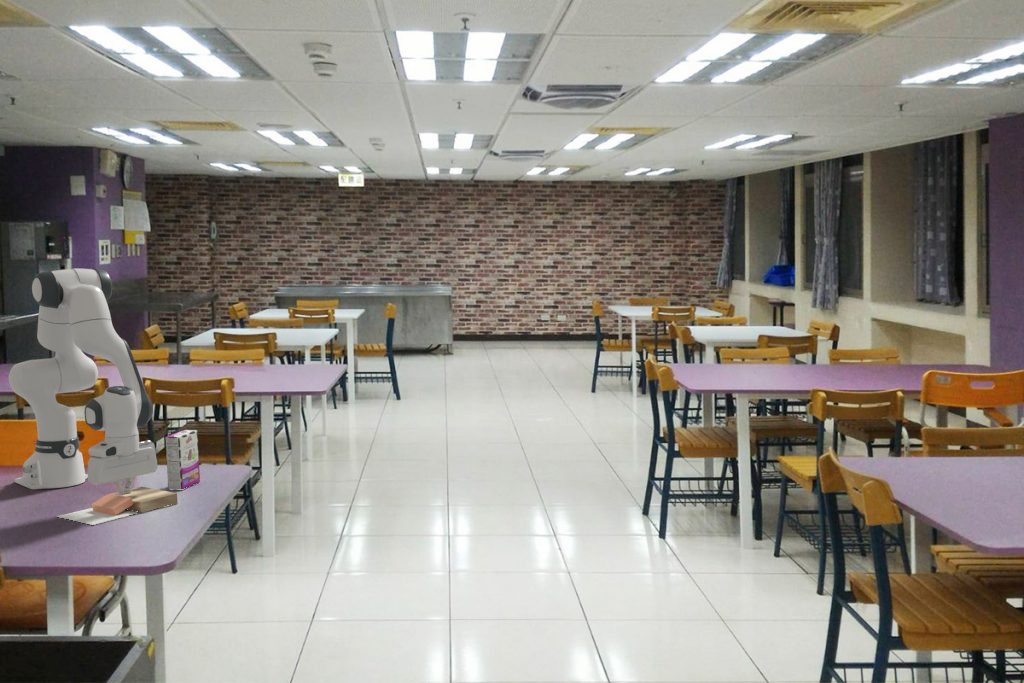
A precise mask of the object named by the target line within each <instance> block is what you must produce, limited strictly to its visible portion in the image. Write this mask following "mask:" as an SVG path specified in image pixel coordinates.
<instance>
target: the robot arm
mask: <svg viewBox="0 0 1024 683" xmlns="http://www.w3.org/2000/svg"><path fill="white" fill-rule="evenodd" d="M31 291H32V297H33V299H34V302H36V303H37V304H38V305H39V308H38V309H39V310H38V320H37V335H36V337H37V338H36V339H37V340H38V343H39V345H41V346H42V347H43V348H45V349H46V350H49V351H52V352H54V353H55V354H54V357H49V358H40V359H29V360H25V361H22V362H19V363H16V364H15V363H14V365H13V366H12V367H11V368H10V371H9V373H8V384H9V386H10V388H11V390H12V391H13V393H15V394H16V395H18V396H19V397H21V398H22V399H23V400H25V401H26V402H27V403H28V405H29V406H30V408H31V409H32V412H33V413H34V416H35V420H36V428H37V429H36V430H37V440H33V442H34V443H33V445H35V448H34V452H33V453H32V455H30V456H29V458H27V459H26V460H25V461H24V463H23V465H22V468H21V469H22V476H20V477H17V478H15V479H14V483H16V484H18V485H20V486H22V487H25V488H27V489H29V490H42V489H43V490H44V489H59V488H68V487H74V486H77V485H78V486H79V485H81V484H82V483H85V481H86V480H88V482H89V483H90V485H96V486H99V485H100V486H101V485H103V484H108V483H112V482H113V484H114V486H115V488H116V489H117V492H118V494H119V495H125V494H130V493H131V489H132V486H133V484H134V482H135V477H138V476H143V475H147V474H148V475H149V474H152V473H156V471H157V470H158V460H157V455H156V449H155V446H156V445H155V443H154V442H153V441H151V440H150V439H148V440H143V441H140V436H139V435H140V433H139V429H138V428H142V427H144V426H146V424H148V423H149V422H150V420H151V419H152V417H153V414H154V406H153V403H152V401H151V399H150V396H149V395H148V392H147V391H146V389H145V386H144V383H143V381H142V377H141V374H140V372H139V369H138V367H137V364H136V361H135V358H134V355H133V353H132V351H131V348H130V345H129V344H128V341H126V340H125V339H123V338H121V337H120V335H119V334H118V333H117V332H116V330H115V328H114V325H113V323H112V322H113V321H112V317H111V311H110V309H109V305H108V301H109V299H110V298H111V297H112V295H113V294H112V293H113V282H112V277H111V276H110V274H109V273H108V272H107V271H106V270H103V269H100V268H79V267H78V268H77V267H76V268H69V269H68V268H67V269H59V270H44V271H41V272H38V273H37V274H36V275H34V277H33V280H32V283H31ZM85 353H86V354H88V355H91V356H94V357H98V358H101V359H105V360H107V361H108V362H110V363H112V364H114V366H115V367H116V369H117V370H118V373H119V375H120V380H122V381H121V382H122V383H123V385H114V386H109V387H107V388H106V389H105V390H104V392H103V394H101V395H99V396H97V397H94V398H91V399H90V400H88V402H87V403H86V405H85V407H84V420H85V424H86V425H87V426H88V427H89V428H91V429H92V430H94V431H98V432H99V431H100V432H102V431H103V432H105V434H104V439H103V440H100V442H97V444H95V445H92V446H91V447H89V448H88V454H89V456H90V458H89V459H88V462H87V473H86V471H85V465H84V458H83V453H82V452H81V451H80V450H79V448H80V440H79V436H78V431H77V415H76V413H75V410H74V409H72V408H71V407H70V406H68V405H65V404H62V403H59V402H58V401H57V397H56V395H57V394H65V393H75V392H80V391H83V390H87V389H90V388H92V387H94V386H95V384H96V383H97V381H98V378H99V370H98V367H97V366H98V365H97V364H96V362H94V360H93V359H92V358H91V357H89V356H87V355H86V354H85ZM124 480H125V482H126V483H125V485H124V486H123V483H124V482H123V481H124Z"/></svg>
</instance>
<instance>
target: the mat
mask: <svg viewBox="0 0 1024 683" xmlns="http://www.w3.org/2000/svg"><path fill="white" fill-rule="evenodd" d="M137 513H138V512H134V511H129V510H124V511H122V512H120V513H119V514H117V515H112V514H107V513H103V512H98V511H94V510H93V508H92V507H89V508H86V509H81V510H77V511H74V512H69V513H66V514H65V513H64V514H61V515H57V516H56V518H57V517H59V518H58V519H61V518H64V519H63V520H66V519H69V520H68V521H70V520H73V521H72V522H74V521H78V522H81V523H80V524H82V523H86V524H85V525H87V524H90V525H89V526H91V525H94V526H97V525H96V524H98V525H101V524H100V523H102V524H105V523H104V522H106V523H109V522H108V521H110V522H112V521H111V520H113V521H116V520H115V519H117V520H119V519H118V518H121V517H125V516H129V515H133V514H136V515H138V514H137ZM133 516H134V515H133ZM129 517H130V516H129ZM125 518H126V517H125ZM121 519H122V518H121ZM78 522H77V523H78Z"/></svg>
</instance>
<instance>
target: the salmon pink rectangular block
mask: <svg viewBox="0 0 1024 683" xmlns="http://www.w3.org/2000/svg"><path fill="white" fill-rule="evenodd" d="M131 505H133V501H132V498H130V497H125V496H120V495H115V494H112V493H107V494H105V495H104V496H102V497H101V498H99V499H97V500H96V501H93V502H92V503H91V504H90V506H91V508H93V510H94V511H98V512H103V513H107V514H112V515H117V514H119V513H120V512H122V511H124V510H125V509H127V508H128V507H130V506H131Z"/></svg>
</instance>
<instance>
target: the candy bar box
mask: <svg viewBox="0 0 1024 683" xmlns="http://www.w3.org/2000/svg"><path fill="white" fill-rule="evenodd" d="M164 440H165V454H166V471H167V488H169V489H184V488H186V487H189V486H191V485H193V484H195V485H197V484H199V483H200V482H201V475H200V459H199V458H200V457H199V439H198V430H197V429H196V430H195V429H184V430H181V431H178V432H176V433H173V434H169V435H168V436H165V437H164ZM198 482H199V483H198ZM196 483H197V484H196ZM193 486H194V485H193ZM191 487H192V486H191ZM189 488H190V487H189ZM169 489H168V490H169ZM184 490H185V489H184Z"/></svg>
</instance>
